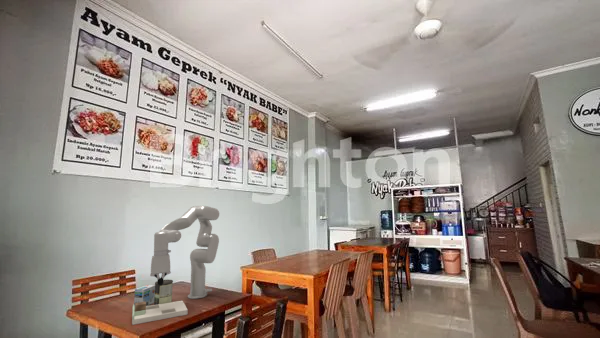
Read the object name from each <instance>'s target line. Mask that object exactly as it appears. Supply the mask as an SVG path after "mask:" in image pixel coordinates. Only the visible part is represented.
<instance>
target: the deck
mask: <svg viewBox="0 0 600 338" xmlns="http://www.w3.org/2000/svg"><path fill="white" fill-rule="evenodd" d="M131 310H132V312H131V313H132V314H131V319H132V320H131V325H132V326H133V325H134V326H135V325H139V324H144V323H150V322H154V321H160V320H165V319H170V318H175V317H182V316H187V315H188V311H189V310H188V308H187V306H186V303H185V302H184V301H183V300H176V301H172V302H170V303H164V304H158V305H154V304H153V305H152V304H150V305H148V306H146V313H145V310H142V311H136V312H135V307H134V304H132V309H131Z"/></svg>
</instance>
